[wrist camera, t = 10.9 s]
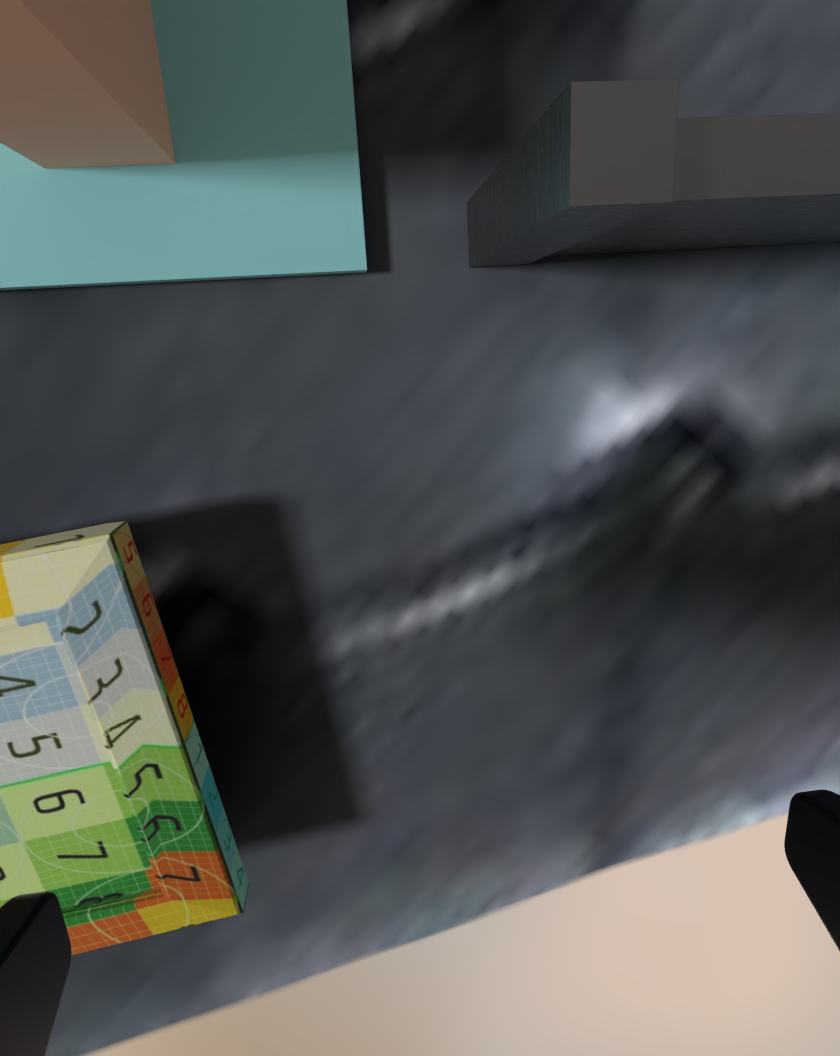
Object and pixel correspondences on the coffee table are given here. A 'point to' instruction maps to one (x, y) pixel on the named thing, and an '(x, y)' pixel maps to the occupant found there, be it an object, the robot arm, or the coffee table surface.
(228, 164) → the teal mat
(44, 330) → the coffee table surface
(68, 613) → the puzzle game
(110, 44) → the terracotta panel
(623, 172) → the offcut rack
